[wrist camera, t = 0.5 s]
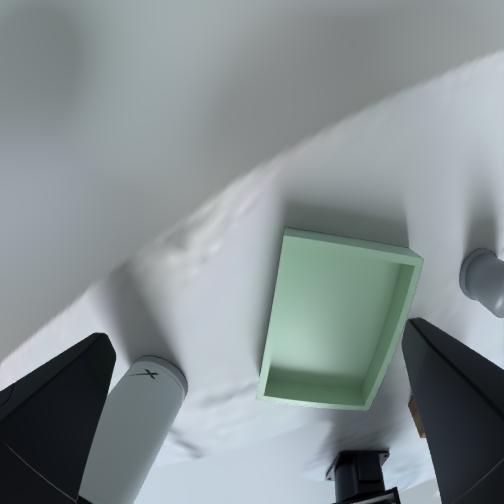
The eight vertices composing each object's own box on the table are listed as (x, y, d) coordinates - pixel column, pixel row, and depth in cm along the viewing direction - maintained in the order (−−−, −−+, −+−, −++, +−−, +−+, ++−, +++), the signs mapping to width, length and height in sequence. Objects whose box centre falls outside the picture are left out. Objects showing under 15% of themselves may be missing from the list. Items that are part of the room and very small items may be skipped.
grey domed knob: (487, 299, 21) (515, 322, 16) (453, 294, 21) (480, 319, 17) (501, 252, 20) (533, 268, 15) (467, 244, 20) (499, 260, 15)
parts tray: (362, 390, 25) (368, 410, 22) (259, 378, 26) (255, 399, 23) (409, 248, 21) (424, 258, 18) (284, 227, 22) (283, 235, 19)
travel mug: (151, 341, 26) (25, 504, 7) (200, 387, 27) (121, 565, 8) (120, 368, 28) (13, 502, 9) (165, 408, 29) (86, 554, 10)
